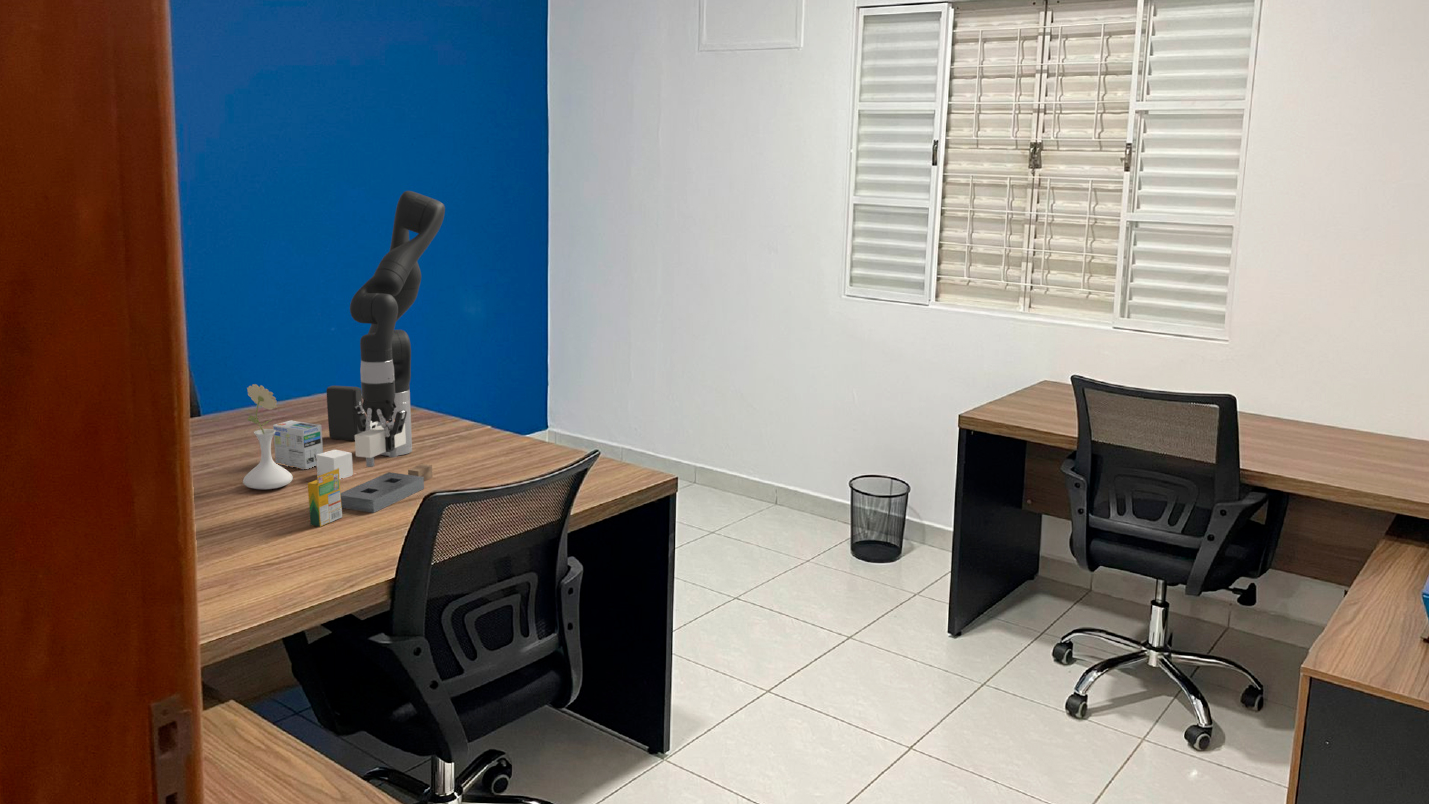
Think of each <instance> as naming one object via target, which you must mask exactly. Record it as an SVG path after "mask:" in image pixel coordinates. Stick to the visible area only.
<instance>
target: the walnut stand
mask: <svg viewBox="0 0 1429 804" xmlns="http://www.w3.org/2000/svg"><path fill="white" fill-rule="evenodd" d="M407 475H413V476H421V477H424V482H426V481H428V480H430V479H432V478H433V465H432V464H428V463H427V464H426V463H421V464H418V465H416V466H413V467H411V468H409V469H407ZM429 478H430V479H429Z"/></svg>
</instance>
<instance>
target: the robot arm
mask: <svg viewBox="0 0 1429 804" xmlns="http://www.w3.org/2000/svg"><path fill="white" fill-rule="evenodd" d="M445 212H446V206H445V204H444V203H442V202H441V201H439V200H438V199H434V198H432V197H429V196H428V195H427V196H426V195H423V194H421V193H418V192H415V191H412V190H405V191H404V192H403V193H402V194H401V195H400V197H399V199H398V201H397V203H396V208H395V213H394V214H395V215H394V220H393V226H392V227H393V228H392V235H391V241H390V247H389V252H387V253H385V255H384V256H383V257H382V259H381V260H380V262H379V264H378V266H377V268H376V269H375V272H374V273H373V275H372V277H370V278H369V279H368V280H366V282H365V283H364V284H363V285H362V286H361V287H360V288H359V289H358V290H357V291H356V292H355V294H354V295H353V297H352V298H351V301H350V304H349V305H350V306H349V312H350V316H351V318H352V320H354V321H356V322H357V323H359V324H367V325H368V324H370V328H369V330H368V333H367V334H364V335H362V336H361V337H360V339H359V343H360V344H359V347H360V388H361V395H362V405H358V406H355V407H353V408H352V411H353V414H354V416H355V419H356V422H357V425H358V428H359V430H360V431H363V432H364V431H367V430H370V429H372V428H376V427H378V426H380V425H381V426H382V428H384V431H385V435H386V437H385V446H386V452H384V453H381V454H379V455H381V456H387V457H389V452H391V451H393V449H394V448H395V435H396V434H398V433H401V432H402V430H403V426H404V423H405V434H406V444H403V445H401V446H398V447H397V456H402V455H407V454H410V453H412V452H413V441H412V416H411V392H410V383H411V377H412V374H411V373H412V372H411V370H412V369H411V368H412V367H411V366H412V363H411V362H412V348H411V347H412V345H411V340H410V337H409V334H408V333H407V332H406V331H405V330H403V329H395V328H396V322H397V321H399V319H400V318H401V317H403V315H404V314H405V313H407V311H408V310H409V309H410V308H411V307H412V305H413V304H414V303H415V301H416V299H417V298H418V293H419V290H420V286H421V281H422V272H421V268H420V266H419V262H418V261H419V259H420V258H421V256H422V255H423V254H424V252H425V251H427V249H428V247H429V245H431V242H433V240H434V239H435V237H436V236H437V234H438V232H439V231H440V229H441V226H442V224H443V222H444V218H445ZM410 231H411V232H412V233H413V232H414V233H416V234H417V235H416V236H415V237H413V238H411V239H410ZM394 420H395V421H394ZM387 421H388V423H387Z"/></svg>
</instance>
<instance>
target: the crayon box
mask: <svg viewBox="0 0 1429 804" xmlns="http://www.w3.org/2000/svg"><path fill="white" fill-rule="evenodd" d="M328 474H333V475H328ZM327 475H328V476H327ZM324 476H326V477H324ZM340 480H341V479H339V468H338V469H335V470H333V471H330V472H327V473H325V474H322V475H319V476H318V475H317V476H316V479H315V480H312V481H311V482H307V495H308V506H309V520H310V526H312V525H315V526H314V527H318V526H319V528H322V527H323V526H326V525H328V524H329V523H332V522H334V521H336V520H339V519H342V518H343V508H342V506H341V493H342V492H341V481H340ZM321 526H322V527H321Z"/></svg>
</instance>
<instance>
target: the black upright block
mask: <svg viewBox="0 0 1429 804" xmlns="http://www.w3.org/2000/svg"><path fill="white" fill-rule="evenodd" d="M326 404H327V421H328V435H329V438H330V439H332V440H340V441H341V440H342V441H343V440H344V441H354V440H355V435H356V434H359V433H362V432H363V431H360V430H359V428H358V425H357V422H356V419H355V416H354V414H353V411H352V408H353V407H355V406H358V405H362V404H363V399H362V390H361V387H358V386H347V385H330V386H328V387H327V388H326Z"/></svg>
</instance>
